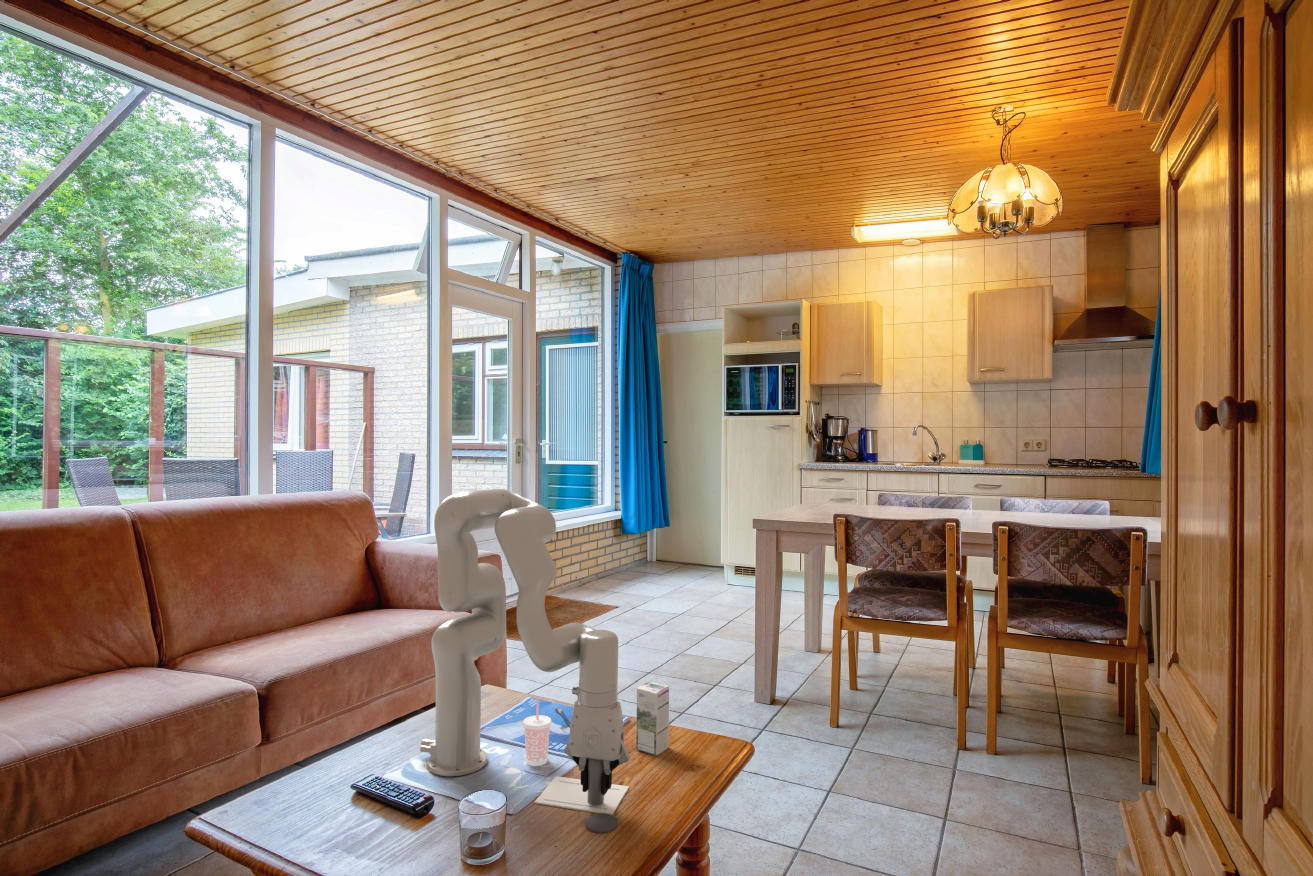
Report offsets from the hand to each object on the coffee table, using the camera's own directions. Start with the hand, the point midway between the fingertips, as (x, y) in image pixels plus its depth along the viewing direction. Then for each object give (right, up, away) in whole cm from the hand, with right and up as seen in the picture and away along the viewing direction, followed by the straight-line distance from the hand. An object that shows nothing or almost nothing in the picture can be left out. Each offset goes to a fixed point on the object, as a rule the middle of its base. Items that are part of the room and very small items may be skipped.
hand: (596, 789), depth 139 cm
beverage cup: (-15, -3, +19) cm, 24 cm away
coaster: (+2, -3, -7) cm, 8 cm away
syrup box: (+11, -4, +26) cm, 28 cm away
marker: (0, -2, 0) cm, 2 cm away
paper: (-3, -3, +4) cm, 6 cm away
